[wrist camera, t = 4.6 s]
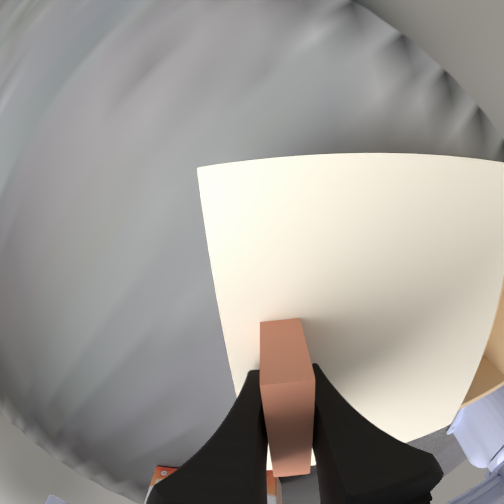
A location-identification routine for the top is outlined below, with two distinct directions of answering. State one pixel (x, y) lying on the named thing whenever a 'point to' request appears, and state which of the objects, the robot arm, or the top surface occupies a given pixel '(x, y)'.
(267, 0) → the top surface
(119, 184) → the top surface
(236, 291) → the lid
